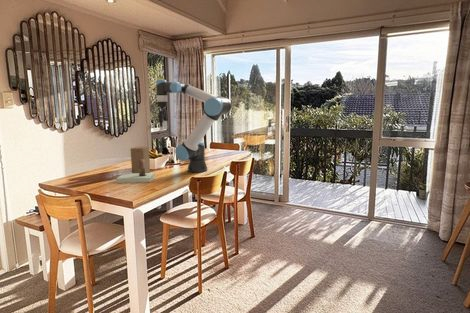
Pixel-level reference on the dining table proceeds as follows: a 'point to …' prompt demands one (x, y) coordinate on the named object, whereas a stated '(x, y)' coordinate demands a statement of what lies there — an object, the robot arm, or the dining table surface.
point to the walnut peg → (141, 167)
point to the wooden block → (138, 154)
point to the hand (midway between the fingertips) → (163, 130)
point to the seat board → (135, 178)
